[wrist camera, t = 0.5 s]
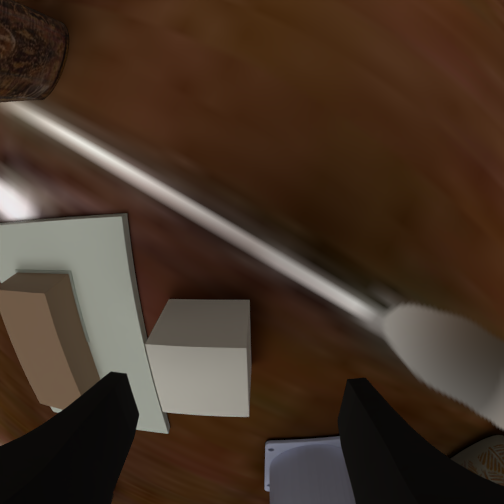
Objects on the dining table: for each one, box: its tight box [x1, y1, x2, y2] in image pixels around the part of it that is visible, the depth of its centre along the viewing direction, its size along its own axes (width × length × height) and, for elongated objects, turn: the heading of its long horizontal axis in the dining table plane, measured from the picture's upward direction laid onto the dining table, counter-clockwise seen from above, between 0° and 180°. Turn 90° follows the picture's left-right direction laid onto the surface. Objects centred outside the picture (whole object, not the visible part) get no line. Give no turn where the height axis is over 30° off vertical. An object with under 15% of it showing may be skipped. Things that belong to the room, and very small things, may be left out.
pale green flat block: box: [0, 213, 170, 434], centre depth 19 cm, size 18×12×4 cm, turn 1°
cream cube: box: [145, 299, 251, 417], centre depth 18 cm, size 5×5×5 cm
